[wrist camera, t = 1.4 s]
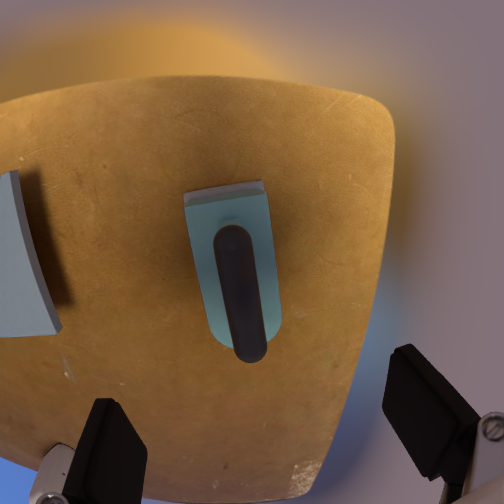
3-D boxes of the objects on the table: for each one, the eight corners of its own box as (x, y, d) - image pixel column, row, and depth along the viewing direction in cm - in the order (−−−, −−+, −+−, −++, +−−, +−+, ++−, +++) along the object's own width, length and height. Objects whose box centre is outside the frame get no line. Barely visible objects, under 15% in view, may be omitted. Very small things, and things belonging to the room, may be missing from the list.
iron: (184, 192, 22) (162, 214, 13) (261, 179, 23) (289, 192, 14) (211, 324, 26) (211, 398, 17) (278, 313, 26) (305, 381, 17)
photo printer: (59, 439, 30) (35, 502, 18) (83, 454, 31) (65, 518, 19) (41, 455, 31) (22, 508, 19) (62, 468, 32) (46, 522, 20)
